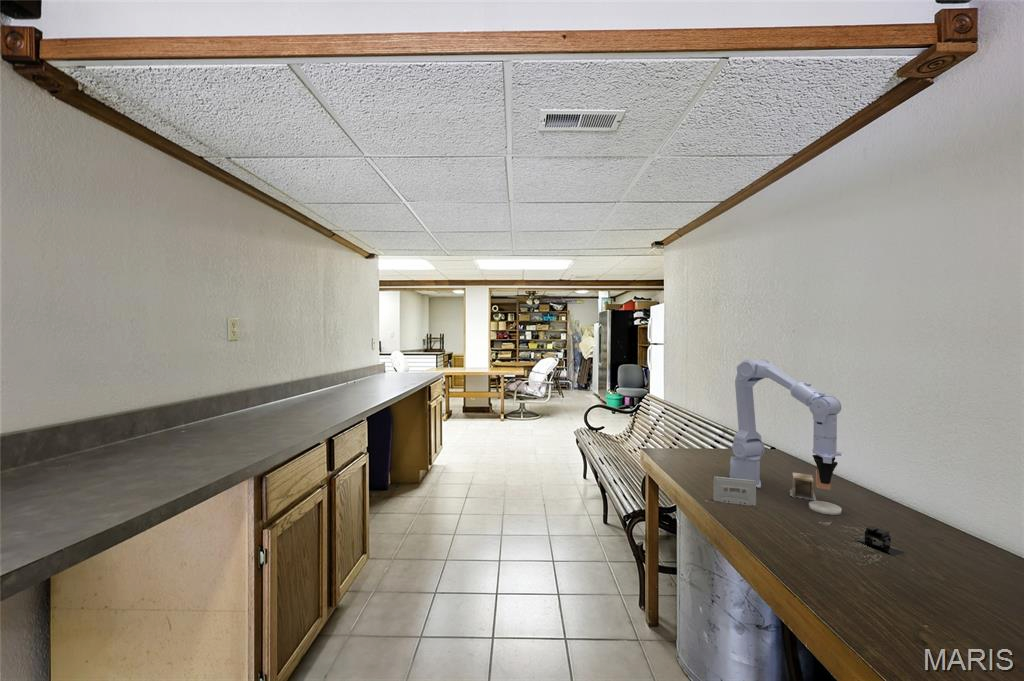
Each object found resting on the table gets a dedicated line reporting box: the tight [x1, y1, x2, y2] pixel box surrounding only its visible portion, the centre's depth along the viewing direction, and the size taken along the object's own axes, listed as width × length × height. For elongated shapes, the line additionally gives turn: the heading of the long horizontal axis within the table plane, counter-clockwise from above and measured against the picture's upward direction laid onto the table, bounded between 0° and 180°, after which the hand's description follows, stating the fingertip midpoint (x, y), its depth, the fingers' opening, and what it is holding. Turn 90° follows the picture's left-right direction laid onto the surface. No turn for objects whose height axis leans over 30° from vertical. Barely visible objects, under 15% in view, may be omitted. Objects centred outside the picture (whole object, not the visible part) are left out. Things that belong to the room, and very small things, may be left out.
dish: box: [808, 500, 842, 516], centre depth 133 cm, size 8×8×1 cm
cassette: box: [712, 475, 757, 507], centre depth 138 cm, size 12×2×8 cm, turn 70°
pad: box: [789, 489, 817, 501], centre depth 145 cm, size 7×7×1 cm
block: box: [815, 467, 832, 491], centre depth 133 cm, size 3×3×5 cm
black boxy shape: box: [854, 525, 906, 557], centre depth 110 cm, size 12×7×5 cm, turn 23°
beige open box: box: [791, 472, 815, 499], centre depth 145 cm, size 5×6×6 cm
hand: (824, 481), depth 133 cm, fingers closed on block, 3 cm apart
